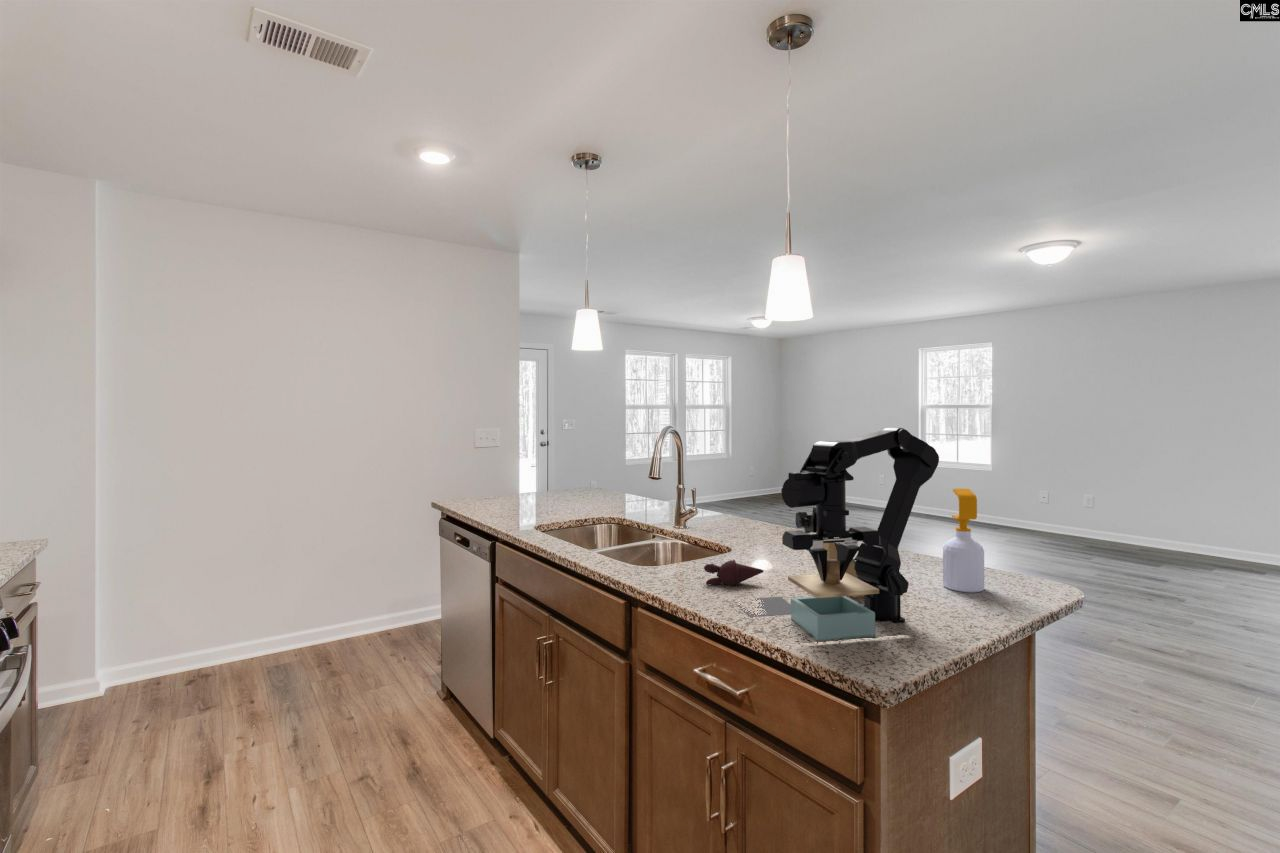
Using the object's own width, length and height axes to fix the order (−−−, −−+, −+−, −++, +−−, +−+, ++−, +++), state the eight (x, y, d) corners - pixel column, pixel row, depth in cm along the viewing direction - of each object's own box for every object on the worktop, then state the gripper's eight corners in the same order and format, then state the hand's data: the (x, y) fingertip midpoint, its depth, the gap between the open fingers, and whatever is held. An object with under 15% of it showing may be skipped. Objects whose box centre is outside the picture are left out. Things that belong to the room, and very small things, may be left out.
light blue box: (843, 617, 128) (843, 594, 128) (875, 638, 116) (875, 612, 116) (791, 621, 126) (790, 598, 126) (817, 643, 114) (817, 617, 114)
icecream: (759, 557, 157) (702, 562, 157) (763, 556, 149) (703, 562, 150) (763, 584, 155) (705, 589, 155) (767, 585, 148) (707, 590, 148)
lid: (844, 575, 128) (844, 551, 128) (879, 593, 115) (879, 566, 115) (787, 579, 126) (787, 555, 126) (816, 598, 113) (816, 571, 113)
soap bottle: (973, 582, 153) (973, 487, 152) (991, 593, 144) (991, 491, 143) (937, 582, 154) (937, 487, 153) (952, 592, 144) (951, 491, 144)
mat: (780, 599, 141) (779, 596, 141) (802, 615, 129) (802, 613, 129) (731, 602, 139) (731, 599, 139) (749, 619, 127) (749, 616, 127)
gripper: (852, 496, 130) (852, 567, 130) (771, 500, 127) (772, 573, 127) (881, 503, 119) (882, 581, 119) (793, 508, 116) (794, 587, 116)
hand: (831, 580), depth 121 cm, fingers closed on lid, 3 cm apart
